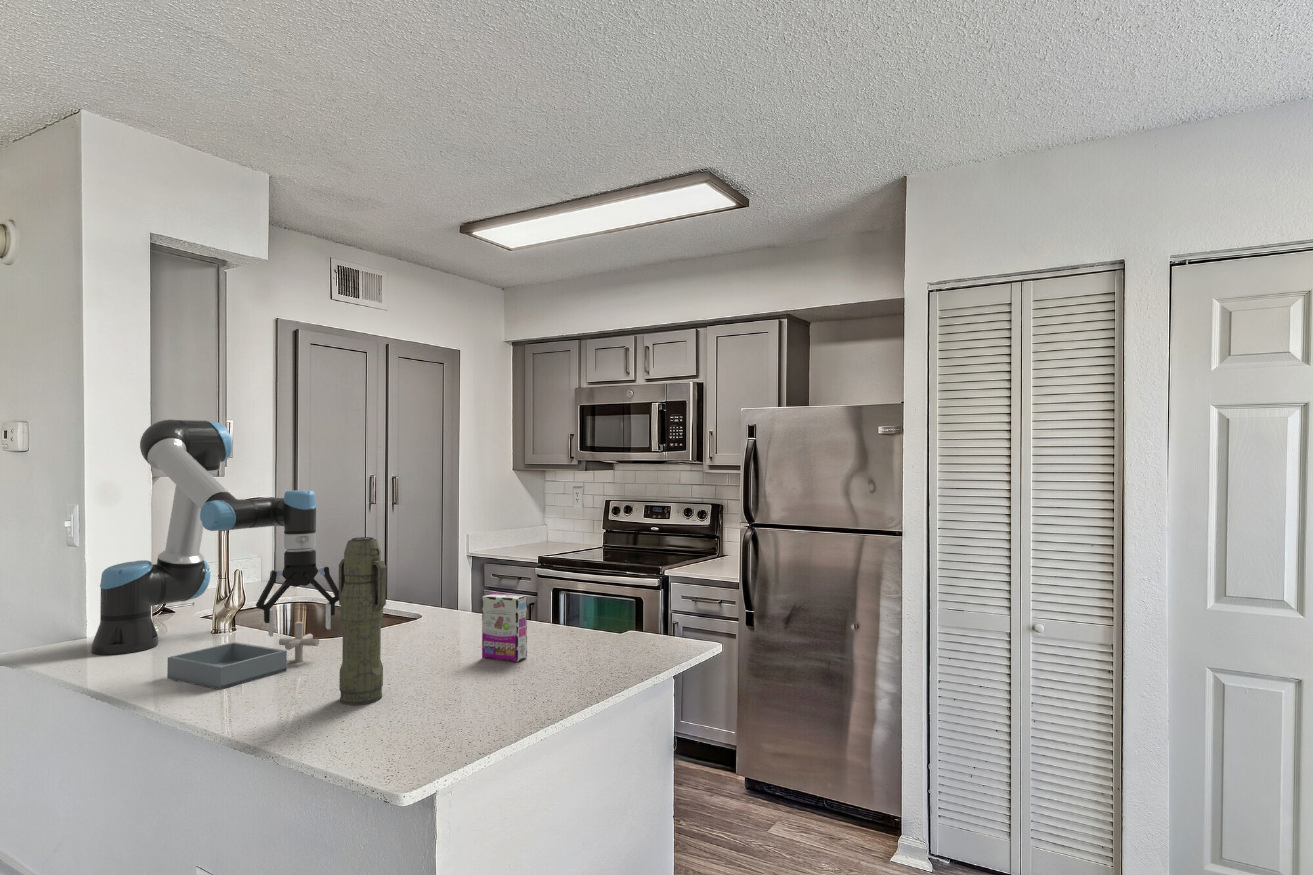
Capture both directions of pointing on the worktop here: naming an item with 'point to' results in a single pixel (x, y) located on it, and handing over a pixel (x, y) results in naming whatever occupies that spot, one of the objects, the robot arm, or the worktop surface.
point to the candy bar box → (504, 627)
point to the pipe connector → (299, 641)
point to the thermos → (361, 621)
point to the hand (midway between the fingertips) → (300, 632)
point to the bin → (226, 665)
